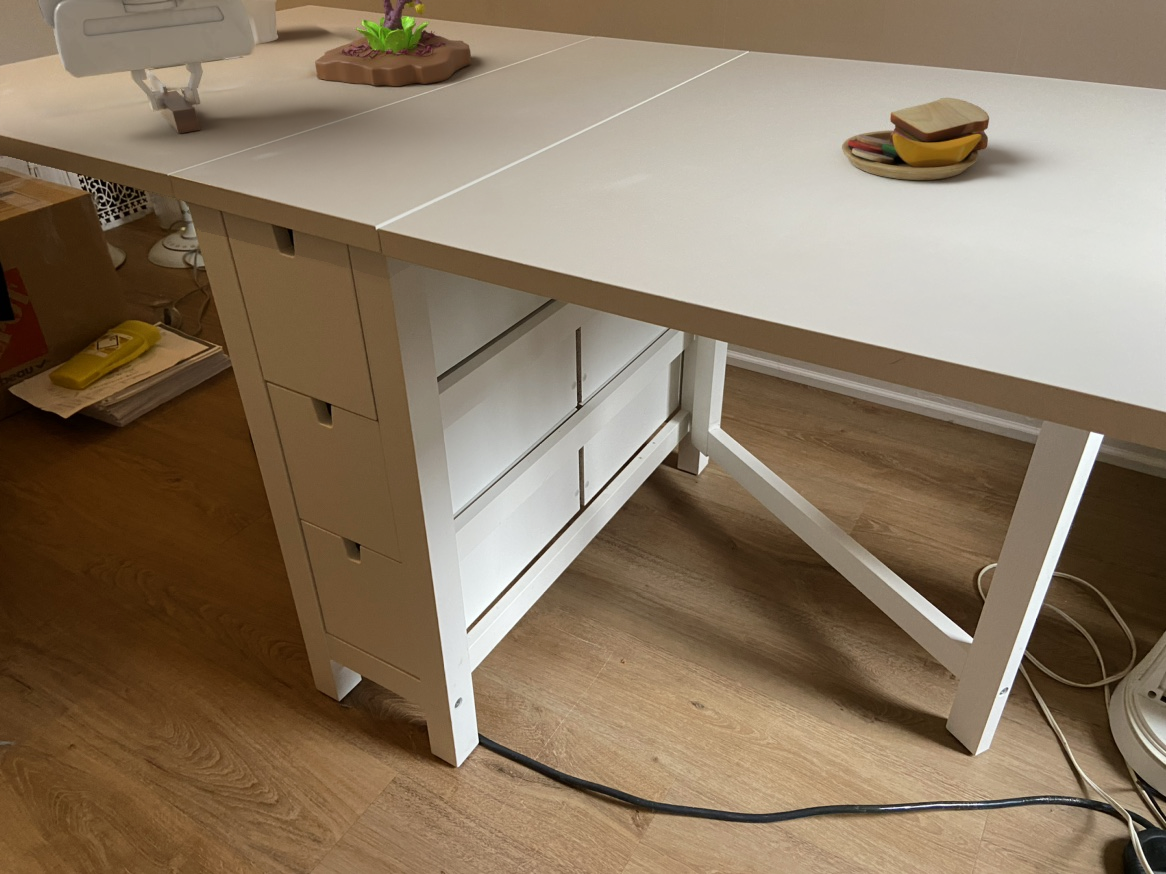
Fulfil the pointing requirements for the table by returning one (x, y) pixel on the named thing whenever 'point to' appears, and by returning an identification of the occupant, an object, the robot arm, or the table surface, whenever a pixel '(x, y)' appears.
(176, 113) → the knife
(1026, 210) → the table surface
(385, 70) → the plant
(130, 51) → the robot arm
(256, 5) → the cup
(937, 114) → the toy sandwich meal
